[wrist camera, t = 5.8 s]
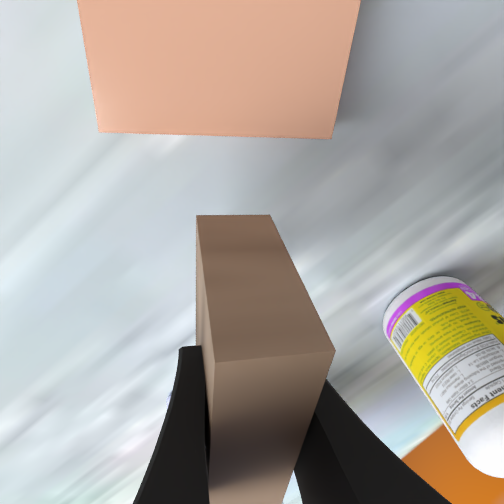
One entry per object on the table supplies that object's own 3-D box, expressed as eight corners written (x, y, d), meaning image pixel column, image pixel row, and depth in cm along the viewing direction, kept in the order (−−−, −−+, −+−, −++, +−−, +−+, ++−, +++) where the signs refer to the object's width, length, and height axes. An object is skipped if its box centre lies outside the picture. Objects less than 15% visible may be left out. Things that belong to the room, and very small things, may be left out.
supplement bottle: (468, 311, 26) (657, 502, 16) (390, 349, 27) (522, 552, 17) (458, 255, 23) (699, 460, 12) (368, 302, 24) (520, 529, 13)
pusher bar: (248, 367, 16) (279, 509, 11) (195, 373, 15) (206, 524, 11) (269, 214, 11) (335, 350, 7) (196, 215, 11) (214, 362, 6)
